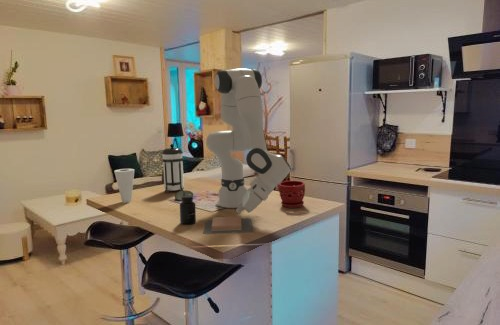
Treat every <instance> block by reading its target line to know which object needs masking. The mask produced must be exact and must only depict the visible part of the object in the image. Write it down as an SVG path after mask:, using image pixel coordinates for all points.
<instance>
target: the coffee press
mask: <svg viewBox="0 0 500 325" xmlns="http://www.w3.org/2000/svg"><path fill="white" fill-rule="evenodd" d="M183 154H184V152H183V150H182V149H181V148H179V147H175V145H174V144H173V143H170V145H169V147H168V148H164V149H163V150H162V152H161V155H162V159H161V160H162V168H163V169H162V170H163V180H164V181H163V184H164V193H165V194H168V193H169V191H170V192H171V191H178V192H180V191H184V189H185V185H184V184H185V183H184V182H185V181H184V179H185V178H184V165H183V164H184V163H183V160H184V157H183Z"/></svg>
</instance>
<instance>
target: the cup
mask: <svg viewBox="0 0 500 325" xmlns="http://www.w3.org/2000/svg"><path fill="white" fill-rule="evenodd" d="M135 170H136V169H134V168H120V169H115V170H114V171H113V172H114V175H115V180H116V182H117V186H118V191H119V195H120V199H121V202H122V204H126V203H131V202H132V200H133V198H132V196H133V188H134V177H135Z"/></svg>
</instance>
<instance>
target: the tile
mask: <svg viewBox="0 0 500 325" xmlns="http://www.w3.org/2000/svg"><path fill="white" fill-rule="evenodd" d="M241 219H242V216H241V215H239V216H218V217H216V216H214V217H213V218H212V220H213V222H212V231H224V230H242V228H241Z"/></svg>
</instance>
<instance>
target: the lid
mask: <svg viewBox="0 0 500 325" xmlns="http://www.w3.org/2000/svg"><path fill="white" fill-rule="evenodd" d="M185 195H191V196H193V197H194V192H192V191H190V190H186V189H185V190H184V189H183V191H178V192H176V193H175V194H174V199H175V201H178V202H182V196H185Z"/></svg>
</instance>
